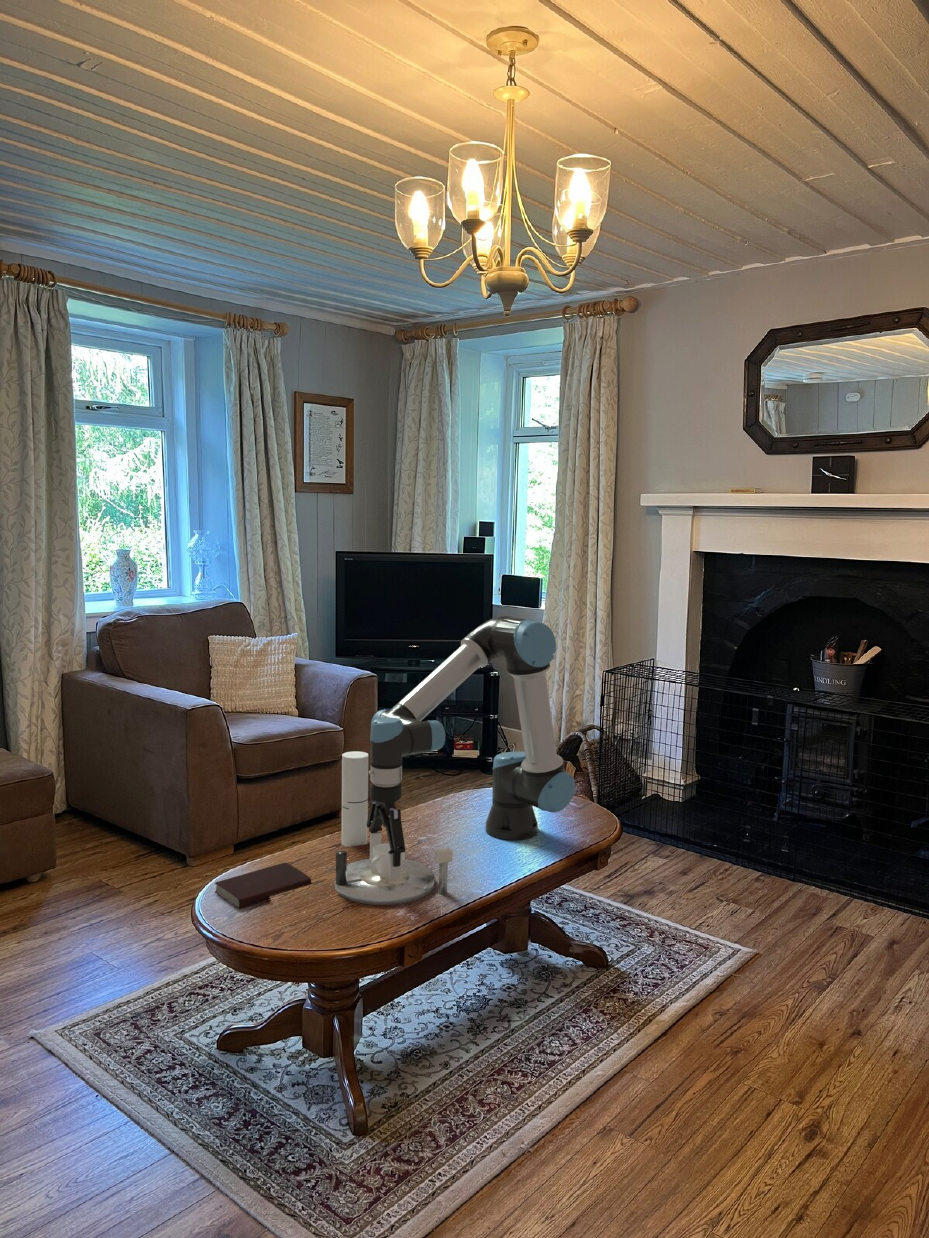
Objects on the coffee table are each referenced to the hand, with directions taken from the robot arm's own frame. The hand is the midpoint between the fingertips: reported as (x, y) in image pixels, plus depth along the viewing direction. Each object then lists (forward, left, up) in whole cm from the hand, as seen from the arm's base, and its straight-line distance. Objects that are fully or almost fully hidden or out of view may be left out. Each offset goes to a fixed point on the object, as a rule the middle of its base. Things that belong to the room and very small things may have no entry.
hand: (384, 868), depth 216 cm
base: (0, 0, -5) cm, 5 cm away
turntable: (0, 0, -4) cm, 4 cm away
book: (+27, -11, -6) cm, 30 cm away
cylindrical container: (-3, -32, -5) cm, 33 cm away
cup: (0, 0, -2) cm, 2 cm away
